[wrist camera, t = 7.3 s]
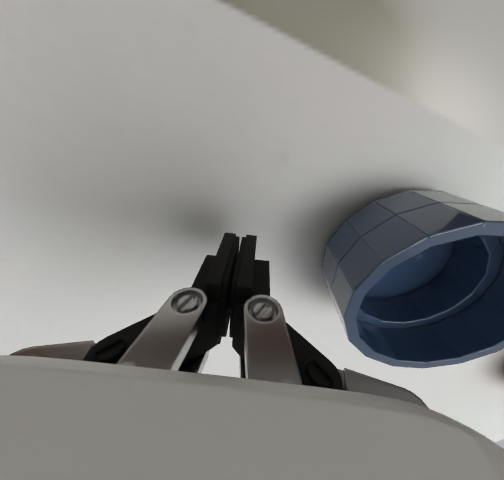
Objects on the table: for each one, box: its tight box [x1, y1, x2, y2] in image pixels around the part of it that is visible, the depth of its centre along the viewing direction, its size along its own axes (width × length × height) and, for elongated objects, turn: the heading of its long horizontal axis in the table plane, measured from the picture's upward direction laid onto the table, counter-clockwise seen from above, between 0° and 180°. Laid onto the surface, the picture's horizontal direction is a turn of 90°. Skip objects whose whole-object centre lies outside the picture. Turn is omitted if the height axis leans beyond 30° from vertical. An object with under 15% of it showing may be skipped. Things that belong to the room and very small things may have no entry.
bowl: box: [322, 190, 504, 368], centre depth 12 cm, size 9×9×5 cm
